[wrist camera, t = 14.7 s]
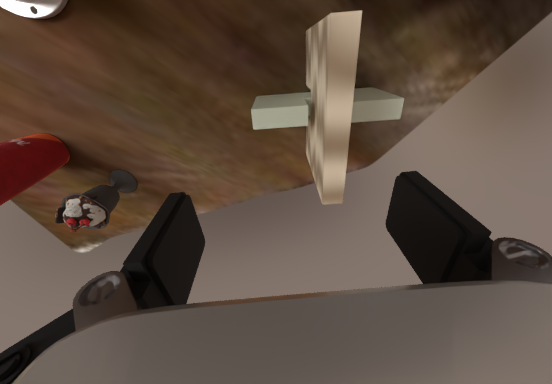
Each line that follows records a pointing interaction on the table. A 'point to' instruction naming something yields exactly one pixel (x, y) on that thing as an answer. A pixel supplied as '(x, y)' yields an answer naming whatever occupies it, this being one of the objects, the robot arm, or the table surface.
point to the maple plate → (331, 99)
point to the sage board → (297, 108)
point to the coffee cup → (29, 162)
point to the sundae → (95, 203)
